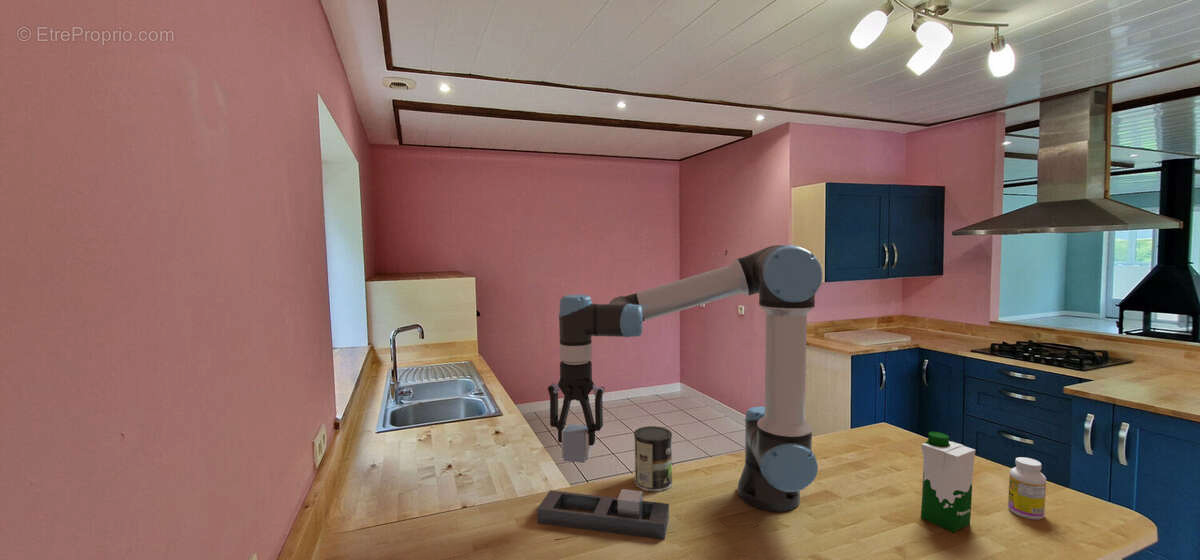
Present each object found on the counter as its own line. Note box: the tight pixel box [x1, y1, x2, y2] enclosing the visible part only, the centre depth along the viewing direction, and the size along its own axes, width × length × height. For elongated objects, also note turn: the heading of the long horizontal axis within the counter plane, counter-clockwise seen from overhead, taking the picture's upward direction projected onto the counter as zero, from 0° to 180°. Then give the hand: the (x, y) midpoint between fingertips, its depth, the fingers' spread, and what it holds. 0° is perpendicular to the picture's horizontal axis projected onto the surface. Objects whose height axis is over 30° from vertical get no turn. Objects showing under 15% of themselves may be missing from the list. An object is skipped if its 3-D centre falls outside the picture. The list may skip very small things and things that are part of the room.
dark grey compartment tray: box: [536, 490, 670, 541], centre depth 117 cm, size 30×9×4 cm, turn 76°
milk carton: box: [920, 431, 976, 533], centre depth 115 cm, size 9×9×20 cm
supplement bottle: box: [1007, 456, 1047, 520], centre depth 118 cm, size 7×7×13 cm
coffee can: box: [633, 425, 673, 493], centre depth 135 cm, size 10×10×14 cm
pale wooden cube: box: [617, 488, 644, 520], centre depth 116 cm, size 5×5×7 cm
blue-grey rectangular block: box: [563, 423, 588, 464], centre depth 118 cm, size 5×5×7 cm
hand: (576, 456), depth 118 cm, fingers closed on blue-grey rectangular block, 5 cm apart
